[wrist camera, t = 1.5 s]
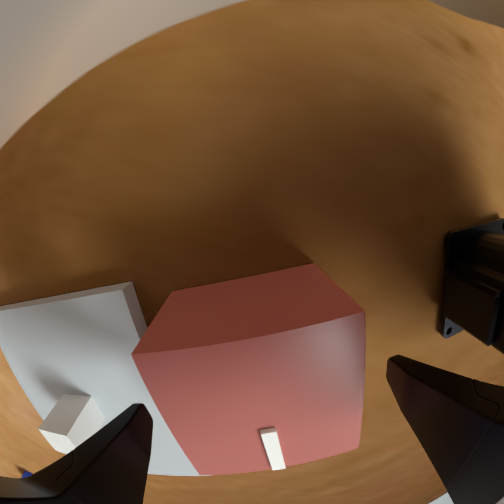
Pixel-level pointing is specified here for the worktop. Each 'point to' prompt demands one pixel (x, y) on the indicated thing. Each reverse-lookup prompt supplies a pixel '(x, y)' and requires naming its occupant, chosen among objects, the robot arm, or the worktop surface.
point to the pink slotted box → (258, 370)
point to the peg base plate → (85, 367)
